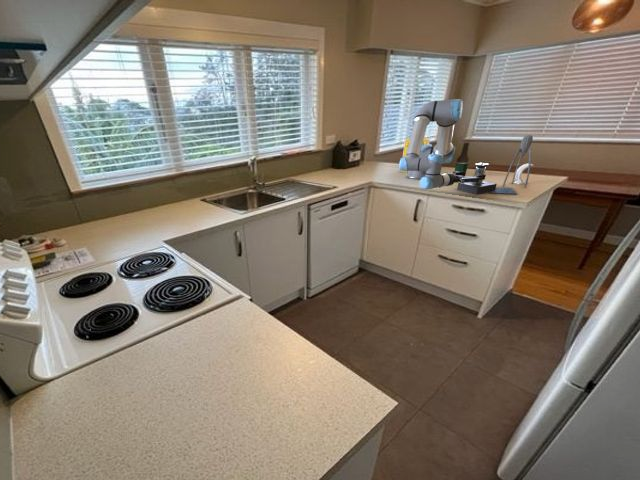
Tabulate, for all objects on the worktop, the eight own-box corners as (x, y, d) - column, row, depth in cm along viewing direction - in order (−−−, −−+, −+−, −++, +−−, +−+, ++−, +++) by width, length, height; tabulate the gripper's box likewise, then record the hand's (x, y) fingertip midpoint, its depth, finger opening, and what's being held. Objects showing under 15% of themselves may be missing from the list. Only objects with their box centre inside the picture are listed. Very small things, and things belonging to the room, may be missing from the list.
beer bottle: (454, 178, 214) (462, 143, 204) (451, 176, 221) (458, 142, 210) (467, 178, 212) (475, 143, 202) (463, 176, 219) (470, 141, 208)
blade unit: (468, 189, 189) (475, 161, 181) (480, 189, 186) (487, 161, 179) (469, 191, 184) (476, 163, 176) (482, 191, 181) (489, 163, 174)
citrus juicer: (526, 187, 182) (543, 135, 169) (509, 188, 182) (524, 136, 169) (512, 183, 192) (527, 133, 179) (496, 184, 192) (510, 135, 179)
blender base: (474, 186, 192) (475, 179, 190) (494, 191, 180) (496, 183, 178) (456, 189, 190) (458, 182, 188) (476, 194, 177) (478, 187, 176)
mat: (487, 188, 187) (487, 187, 187) (511, 188, 182) (511, 187, 182) (491, 193, 176) (491, 192, 176) (516, 194, 171) (517, 193, 171)
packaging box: (404, 168, 262) (408, 137, 251) (425, 168, 253) (430, 137, 242) (400, 171, 250) (404, 140, 239) (422, 172, 241) (427, 139, 230)
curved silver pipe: (527, 184, 188) (533, 164, 183) (516, 184, 189) (522, 165, 184) (523, 182, 192) (528, 163, 187) (512, 182, 193) (518, 163, 188)
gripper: (427, 182, 188) (455, 177, 192) (462, 190, 166) (492, 185, 170) (430, 170, 185) (457, 166, 189) (465, 177, 163) (495, 172, 167)
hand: (474, 175), depth 180 cm, fingers open, 13 cm apart
